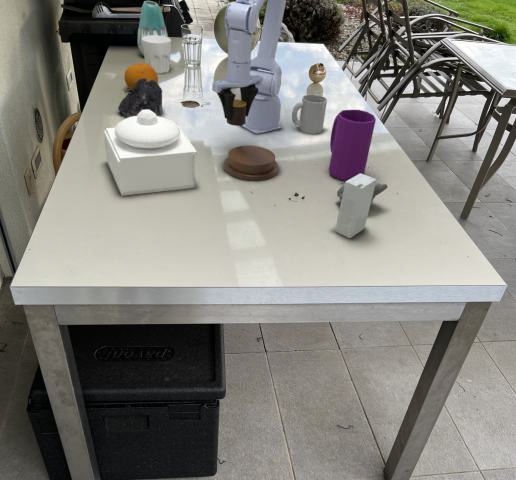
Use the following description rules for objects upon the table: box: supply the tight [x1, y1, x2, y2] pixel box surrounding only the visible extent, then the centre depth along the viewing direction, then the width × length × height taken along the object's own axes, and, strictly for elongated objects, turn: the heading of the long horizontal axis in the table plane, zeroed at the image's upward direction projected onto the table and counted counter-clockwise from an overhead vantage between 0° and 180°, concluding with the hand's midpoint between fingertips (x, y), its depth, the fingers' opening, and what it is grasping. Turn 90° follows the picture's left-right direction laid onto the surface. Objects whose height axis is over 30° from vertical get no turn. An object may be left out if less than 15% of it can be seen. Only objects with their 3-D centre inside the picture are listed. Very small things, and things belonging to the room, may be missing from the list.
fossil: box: [336, 182, 388, 204], centre depth 124 cm, size 11×9×8 cm
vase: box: [136, 0, 169, 57], centre depth 197 cm, size 12×12×18 cm
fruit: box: [123, 62, 159, 90], centre depth 172 cm, size 10×10×8 cm
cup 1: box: [142, 35, 172, 74], centre depth 188 cm, size 10×10×10 cm
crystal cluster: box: [117, 78, 163, 118], centre depth 157 cm, size 13×14×10 cm
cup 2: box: [291, 94, 328, 135], centre depth 157 cm, size 7×10×9 cm
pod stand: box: [223, 144, 279, 182], centre depth 136 cm, size 14×14×4 cm
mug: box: [328, 109, 377, 182], centre depth 136 cm, size 9×16×15 cm, turn 18°
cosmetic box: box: [334, 173, 377, 239], centre depth 114 cm, size 6×4×12 cm
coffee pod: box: [226, 98, 247, 127], centre depth 139 cm, size 5×5×5 cm
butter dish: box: [103, 109, 198, 197], centre depth 125 cm, size 18×18×16 cm
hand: (236, 116), depth 140 cm, fingers closed on coffee pod, 5 cm apart
